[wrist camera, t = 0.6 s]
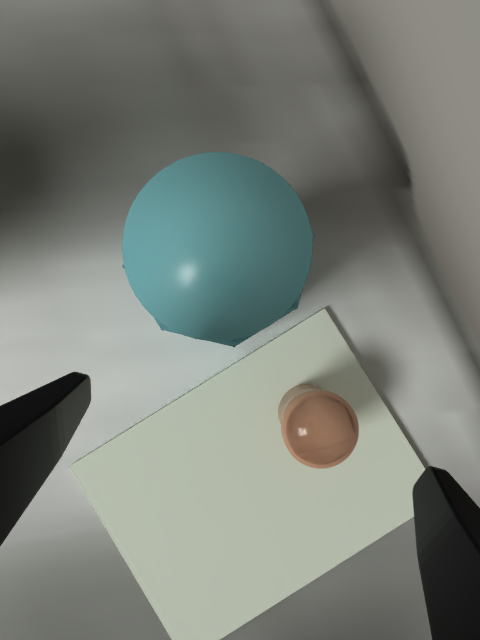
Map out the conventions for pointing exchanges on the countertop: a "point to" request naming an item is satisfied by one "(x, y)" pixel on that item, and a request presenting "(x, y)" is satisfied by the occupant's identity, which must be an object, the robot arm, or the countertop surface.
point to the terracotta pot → (317, 426)
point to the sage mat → (248, 487)
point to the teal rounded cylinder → (217, 247)
